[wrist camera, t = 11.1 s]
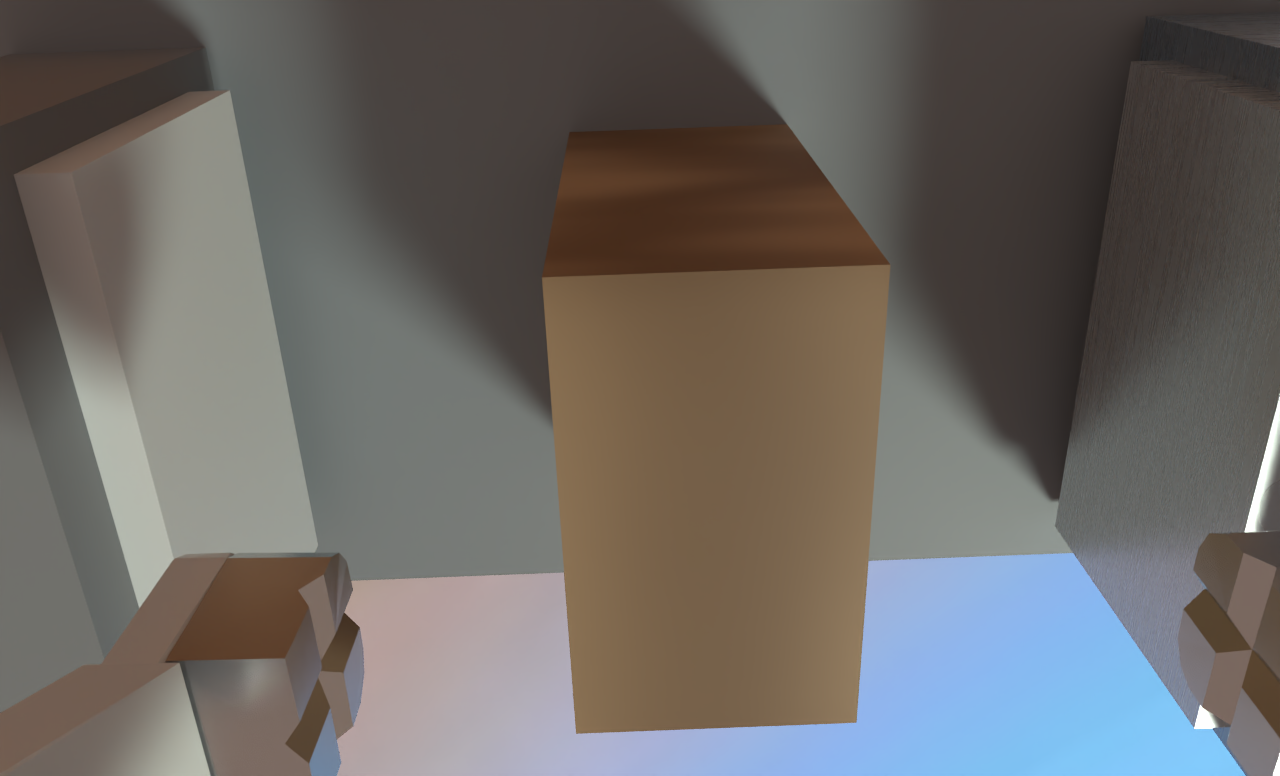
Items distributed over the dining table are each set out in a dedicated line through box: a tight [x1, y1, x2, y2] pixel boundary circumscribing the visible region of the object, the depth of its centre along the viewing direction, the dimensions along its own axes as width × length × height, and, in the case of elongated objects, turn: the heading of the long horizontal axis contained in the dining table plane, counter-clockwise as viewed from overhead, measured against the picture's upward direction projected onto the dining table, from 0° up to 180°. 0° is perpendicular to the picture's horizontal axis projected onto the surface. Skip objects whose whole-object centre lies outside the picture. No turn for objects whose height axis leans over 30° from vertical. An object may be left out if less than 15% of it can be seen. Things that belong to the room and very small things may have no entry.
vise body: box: [0, 0, 1280, 713], centre depth 16 cm, size 22×11×9 cm, turn 92°
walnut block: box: [542, 124, 890, 734], centre depth 15 cm, size 4×6×7 cm, turn 2°
